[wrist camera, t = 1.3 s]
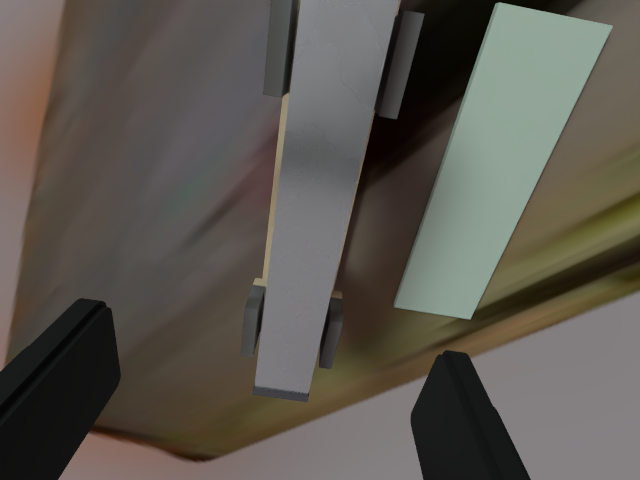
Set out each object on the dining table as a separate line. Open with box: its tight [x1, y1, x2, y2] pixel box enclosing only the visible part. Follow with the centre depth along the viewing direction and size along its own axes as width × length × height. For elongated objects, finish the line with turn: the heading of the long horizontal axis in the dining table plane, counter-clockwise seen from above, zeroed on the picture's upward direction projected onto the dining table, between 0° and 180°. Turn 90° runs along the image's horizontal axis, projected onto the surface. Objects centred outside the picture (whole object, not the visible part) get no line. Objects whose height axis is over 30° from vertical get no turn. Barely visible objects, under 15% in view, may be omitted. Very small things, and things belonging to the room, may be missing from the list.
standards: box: [241, 0, 424, 369], centre depth 23 cm, size 7×24×12 cm, turn 170°
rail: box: [253, 0, 399, 402], centre depth 19 cm, size 24×4×4 cm, turn 170°
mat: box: [393, 2, 613, 319], centre depth 29 cm, size 8×26×1 cm, turn 170°
